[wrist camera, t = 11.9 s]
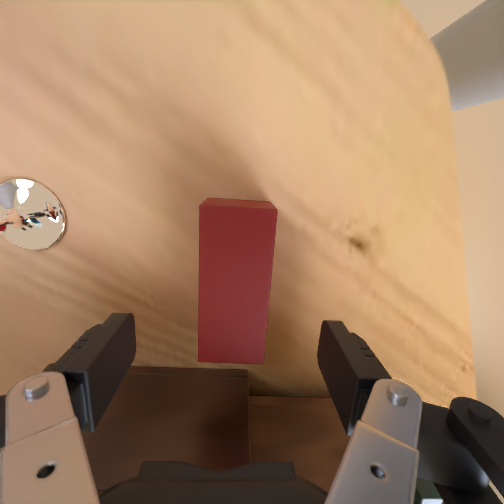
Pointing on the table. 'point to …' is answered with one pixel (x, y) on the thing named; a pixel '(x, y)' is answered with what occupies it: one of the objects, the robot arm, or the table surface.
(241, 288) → the red rectangular block
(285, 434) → the drawer
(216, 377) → the cabinet
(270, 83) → the table surface
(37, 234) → the wineglass
